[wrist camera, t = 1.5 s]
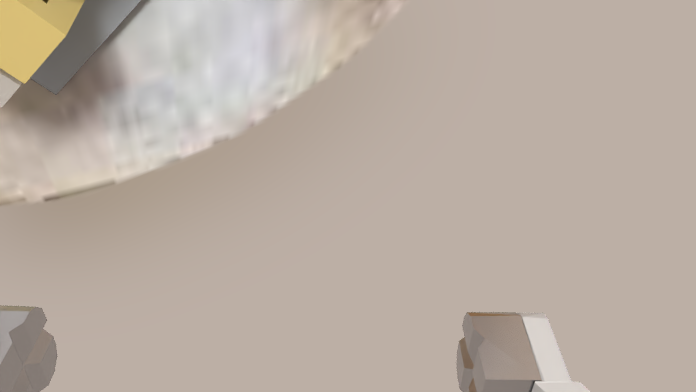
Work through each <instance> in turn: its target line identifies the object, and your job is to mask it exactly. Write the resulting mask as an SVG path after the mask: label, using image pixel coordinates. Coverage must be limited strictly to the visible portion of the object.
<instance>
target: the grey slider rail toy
mask: <svg viewBox="0 0 696 392" xmlns="http://www.w3.org/2000/svg"><path fill="white" fill-rule="evenodd" d="M140 1H141V0H85V1H84V3H83V5H82V6H81V8H80V10H79V12H78V14H77V16H76V18H75V20H74V22H73V24H72V26H71V27H70V29H69V31H68V33H67V35H66V36H65V38H64V39H63V40H62V41H61V42H60V43H59V45H58V46H57V47H56V48H55V49H54V50H53V52H52V53H51V54H50V55H49V56H48V57H47V59H46V60H45V61H44V62H43V63H42V64H41V66H40V67H39V68H38V69H37V70H36V72H35V73H34V74H33V75H32V76H31V77H30V78H31V79H32V80H34V81H35V82H37V83H38V84H40V85H41V86H43V87H44V88H46V89H47V90H49V91H50V92H52V93H54V94H55V95H57V93H58V92H59V91H60V90H61V89H62V88H63V87H64V86H65V85H66V83H67V82H68V81H69V80H70V79H71V78H72V77H73V76H74V74H75V73H76V72H77V71H78V70H79V69H80V68H81V67H82V66H83V64H84V63H85V62H86V61H87V60H88V59H89V58H90V57H91V56H92V54H93V53H94V52H95V51H96V50H97V49H98V48H99V47H100V45H101V44H102V43H103V42H104V41H105V40H106V39H107V38H108V37H109V35H110V34H111V33H112V32H113V31H114V30H115V29H116V28H117V27H118V25H119V24H120V23H121V22H122V21H123V20H124V19H125V18H126V17H127V15H128V14H129V13H130V12H131V11H132V10H133V9H134V8H135V6H136V5H137V4H138V3H139V2H140ZM21 84H22V82H21V81H19V80H18V79H16V78H15V77H13V76H12V75H10V74H8V73H7V72H5V71H4V70H2V69H1V68H0V107H1V108H2V107H3V106H4V105H5V103H6V102H7V101H8V100H9V99H10V98H11V96H12V95H13V94H14V93H15V92H16V91H17V89H18V88H19V87H20V86H21Z"/></svg>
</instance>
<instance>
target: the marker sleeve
mask: <svg viewBox="0 0 696 392" xmlns="http://www.w3.org/2000/svg"><path fill="white" fill-rule="evenodd" d="M84 1H85V0H0V68H1V69H2V70H4V71H5V72H7V73H8V74H10V75H12V76H13V77H15V78H16V79H18V80H19V81H21V82H22V83H24V84H25V83H26V82H27V81H28V80H29V79H30V77H31V76H32V75H33V74H34V73H35V72H36V70H37V69H38V68H39V67H40V66H41V64H42V63H43V62H44V61H45V60H46V59H47V57H48V56H49V55H50V54H51V53H52V52H53V50H54V49H55V48H56V47H57V46H58V45H59V43H60V42H61V41H62V40H63V39H64V38H65V36H66V35H67V33H68V31H69V29H70V27H71V26H72V24H73V22H74V20H75V18H76V16H77V14H78V12H79V10H80V8H81V6H82V5H83V3H84Z"/></svg>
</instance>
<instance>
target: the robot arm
mask: <svg viewBox="0 0 696 392" xmlns="http://www.w3.org/2000/svg"><path fill="white" fill-rule="evenodd" d="M46 321H47V319H46V317H45V314H44V312H43V310H42V308H38V307H25V306H0V392H40V391H41V390H42V389H44V388H45V387H46V386H48V385H49V383H50V381H51V378H52V376H53V374H54V371H55V365H56V359H57V350H56V343H55V341H54V338H53V336H52V335H51V334H49V333H48V332H46V331H45V330H44V329H43V327H44V325H45V323H46ZM463 331H464V336H465V337H464V338H463V339H461V340H460V341H459V345H458V350H457V375H458V382H459V388H460V390H461V391H463V392H591V391H589V390H588V389H587V388H586V387H585V386H584V385H582V384H581V383H580V382H572V381H571V378H570V375H569V373H568V370H567V368H566V365H565V362H564V360H563V357H562V354H561V352H560V349H559V346H558V344H557V341H556V338H555V336H554V333H553V331H552V328H551V325H550V322H549V320H548V317H547V316H546V315H545V314H544V313H506V312H505V313H504V312H502V313H500V312H495V313H494V312H493V313H492V312H489V313H487V312H484V313H483V312H477V313H476V312H471V313H470V312H467V313H466V315H465V317H464V321H463Z"/></svg>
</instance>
